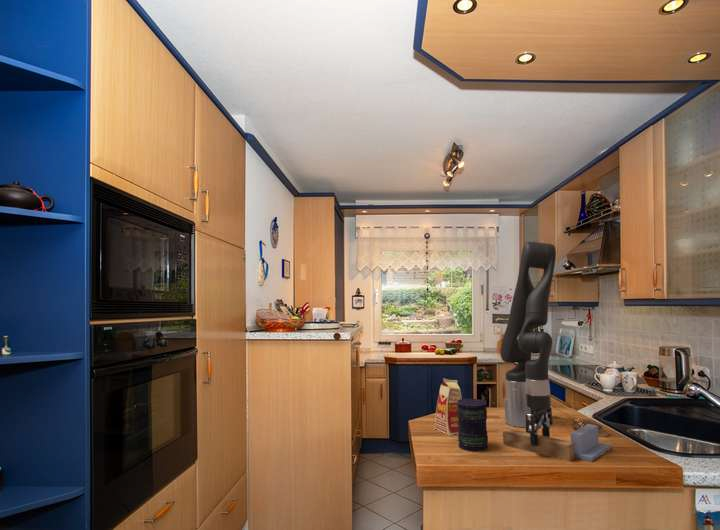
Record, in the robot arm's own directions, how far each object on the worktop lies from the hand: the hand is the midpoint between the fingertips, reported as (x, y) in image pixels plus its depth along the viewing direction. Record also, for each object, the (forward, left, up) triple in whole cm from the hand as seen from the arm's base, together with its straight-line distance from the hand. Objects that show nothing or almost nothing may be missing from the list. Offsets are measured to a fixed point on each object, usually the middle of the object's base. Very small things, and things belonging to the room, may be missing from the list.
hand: (540, 442), depth 146 cm
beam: (-1, -1, -3) cm, 3 cm away
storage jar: (-18, -12, -3) cm, 22 cm away
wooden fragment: (0, +37, -3) cm, 37 cm away
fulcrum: (+10, +10, -3) cm, 14 cm away
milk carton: (-34, -3, -3) cm, 34 cm away
